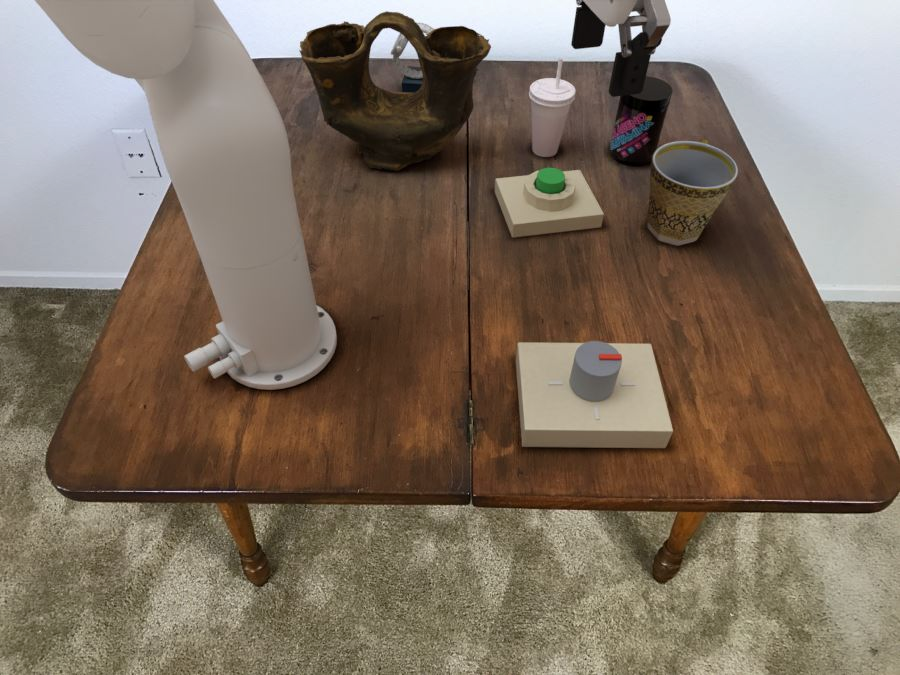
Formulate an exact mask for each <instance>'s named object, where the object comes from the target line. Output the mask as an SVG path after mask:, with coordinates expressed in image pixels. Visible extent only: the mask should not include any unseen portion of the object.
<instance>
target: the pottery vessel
mask: <svg viewBox="0 0 900 675" xmlns="http://www.w3.org/2000/svg"><path fill="white" fill-rule="evenodd" d="M417 23H418V22H417V21H415V19H414V18H412V17H410V16H408V15H405V14H404V13H401V12H398V11H387V10H386V11H384V12H380V13H378V14H377V15H375V17H373V18H372V19H371V20H370V21H369V22H368V23H366V25H365V26H364V25H361V24H358V23H352V22H351V23H350V22H349V21H343V22H341V23H337V24H336V23H331V24H326V25H324V26H321V27H317V28H315V29H311V30H309V31H307V32H306V35H305V38H304V39H303V40H302V41H299V48H300V49H298V51H299V53H300V56H301V60H302V61H303V62H304V65H305V66H306V68H307V70H308V72H309V74H310V76H311V79H312V82H313V86H314V89H315V91H316V94H317V95H318V101H319V105H320V109H321V113H322V116H323V121H324V122H325V123H326V125H327V126H329V127H330V128H332V129H333V130H335V131H337V132H338V133H340V134H341V135H344V136H345V137H347V138H349V139H350V140H352V141H353V142H355V143H356V144H358V149H357V153H359V154H361V153H363V154H362V155H363V160H364V162H366V163H365V164H366V165H367V166H368V167H369V168H371V169H378V170H382V169H384V170H390V171H397V172H399V171H400V170H401V169H403V168H406V167H407V166H409V165H411V164H414V163H420V162H424V161H425V160H431V159H432V158H433V156H434V157H435V156H438V155H439V152H441V151H442V150H443V149H444V148H445V147H447V146H448V145H449V144H450V143H451V142H452V141H453V140H454V139H455V137H456V136H457V135H458V133H459V132H460V131H461V130H462V128H463V127H464V125H465V124H466V123H467V121H468V120H469V118H470V117H471V115H472V112H473V110H474V98H473V95H474V94H473V91H474V90H473V89H474V81H475V78H476V77H477V76H476V75H477V70H478V69H477V67H478V66H479V65H480V64H481V62H482V61H483V60H484V59H486V57H487V56H488V55H489V53H490V51H491V48H492V45H491V44H490V43H489V41H490V38H489V39H486V38H485V37H484V36H485V35H482V34H481V33H479V32H477V31H476V30H474V29H473V28H470V27H466V26H464V25H459V26H458V25H455V26H440V27H437V28H433V29H434V30H432V31H431V32H430V33H429V34H426V33H423V32H422V30H421V29H420V26H419V25H418V24H417ZM385 29H391V30H393V31H395V32H398V34H400V33H401V34H402V35H404V36H405V38H406V39H407V40H408V43H410V45H411V46H412V47H413V48H414V50H415V52H416V55H417V59H418V62H419V67H421V70H422V74H423V82H422V86H421V88H420V89H419V90H418V91H417V92H415V93H409V92H402V91H393V90H386V89H383V88H381V87H379V86H377V85H376V84H375V83H374V82H373V80H372V78H371V74H370V56H371V49H372V45H373V43H374V42H375V40H376V39H377V37H378V36H379V35H380V33H381V32H382V31H383V30H385Z"/></svg>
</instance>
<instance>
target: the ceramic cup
mask: <svg viewBox="0 0 900 675" xmlns="http://www.w3.org/2000/svg"><path fill="white" fill-rule="evenodd" d="M708 142H709V141H708V140H707V139H704V138H701V139H699V140H698V141H694V140H693V141H692V140H677V141H671V142H666V143H665V144H662V145H661V146H658V147H657V149H656V151H655V152H654V153H653V156H652V160H651V161H650V162H651V163H650V171H649V198H648V213H647V226H646V227H647V230H649V231H650V232H651V234H652V235H653V236H654V237H655V238H656V239H657V240H658V241H659V242H662V243H666V244H669V245H673V246H676V247H679V246H682V245H686V244H690V243H694V242H696V241H697V240H698V239H699V237H700V236H701V234H702V233H703V231H704V229H705V227H706V226H707V224H708V223H709V221H710V220H711V218H712V216H713V214H714V213H715V211H716V210H717V209H718V207H719V205H721V204H722V202H723V200H724V199H725V197H726V196H727V194H728V193H729V191H730V189H731V187H732V186H733V184H734V182H735V180H736V178H737V177H738V174H739V173H738V172H739V171H738V170H739V169H738V165H737V163H736V161H735V160H734V158H732V157H731V156H730V155H729V154H728V153H727V152H725V151H724V150H722V149H720V148H718V147H716V146H713V145H711V144H708Z"/></svg>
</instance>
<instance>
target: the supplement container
mask: <svg viewBox="0 0 900 675" xmlns="http://www.w3.org/2000/svg"><path fill="white" fill-rule="evenodd" d="M672 95H673V88H672V86H671V84H669V83H668V82H667V81H665V80H663V79H661V78H657V77H653V76H649V75H646V78H645V82H644V87H643V90H642V92H641V93H639V94H633V95H624V96H619V100H618V106H617V110H616V115H615V119H614V125H613V130H612V134H611V139H610V143H609V152H610V155H611V156H612V158H613V159H614V160H616V161H617V162H619V163H620V164H624V165H626V166H631V167H632V166H633V167H634V166H635V167H637V166H643V165H647V164H648V163H650V162H651V161H652V156H653V153H654V152H655V151H656V149H658V147H659V146H658V145H659V142H660V139H661V134H662V131H663V127H664V125H665V124H664V123H665V119H666V116H667V112H668V109H669V106H670V103H671V100H672Z"/></svg>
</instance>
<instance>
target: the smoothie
mask: <svg viewBox="0 0 900 675" xmlns="http://www.w3.org/2000/svg"><path fill="white" fill-rule="evenodd" d="M563 60H564V58H563V57H558V60H557V61H558V62H557V67H556V77H545V78H540V79H537V80H535V81H533V82H532V83H531V84H530V85H529V91H528V97H529V99H530V110H531V111H530V112H531V114H530V115H531V151H532V152H533V154H534V155H536V156H537V157H541V158H550V157H554V156H556V154H557V153H558V151H559V147H560V144H561V140H562V138H563V133H564V130H565V127H566V122H567V119H568V116H569V112H570V108H571V106H572V103H573V102H574V101H575V100H576V99H575V98H576V88H575V86H574V85H573V84H572V83H571V82H568V81H567V80H564V79H562V78H561V75H562V69H563Z"/></svg>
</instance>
